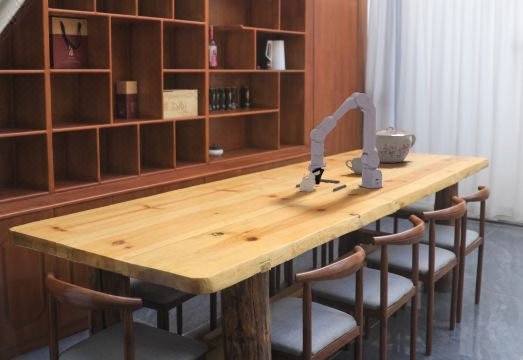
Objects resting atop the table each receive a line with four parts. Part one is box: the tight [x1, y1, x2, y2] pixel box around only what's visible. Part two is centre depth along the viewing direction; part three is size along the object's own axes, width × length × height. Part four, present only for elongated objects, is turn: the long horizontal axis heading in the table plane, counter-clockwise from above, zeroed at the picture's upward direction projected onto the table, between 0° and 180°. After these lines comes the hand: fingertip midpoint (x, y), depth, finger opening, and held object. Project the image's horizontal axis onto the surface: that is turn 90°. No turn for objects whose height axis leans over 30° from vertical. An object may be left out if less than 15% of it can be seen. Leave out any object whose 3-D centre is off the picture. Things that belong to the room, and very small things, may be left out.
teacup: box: [345, 156, 363, 176], centre depth 344 cm, size 14×11×8 cm
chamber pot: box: [376, 125, 417, 164], centre depth 385 cm, size 28×28×21 cm
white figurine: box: [298, 171, 320, 193], centre depth 298 cm, size 12×8×10 cm, turn 137°
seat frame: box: [295, 178, 347, 192], centre depth 311 cm, size 20×21×1 cm
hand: (316, 184), depth 303 cm, fingers closed
